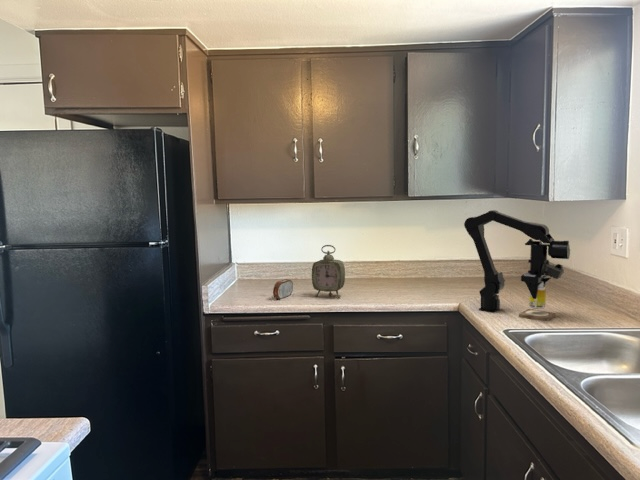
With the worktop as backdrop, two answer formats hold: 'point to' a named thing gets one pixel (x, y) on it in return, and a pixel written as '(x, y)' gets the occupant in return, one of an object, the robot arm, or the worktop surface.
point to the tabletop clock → (328, 274)
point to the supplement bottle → (538, 298)
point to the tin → (283, 289)
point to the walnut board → (537, 315)
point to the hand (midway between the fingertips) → (537, 297)
